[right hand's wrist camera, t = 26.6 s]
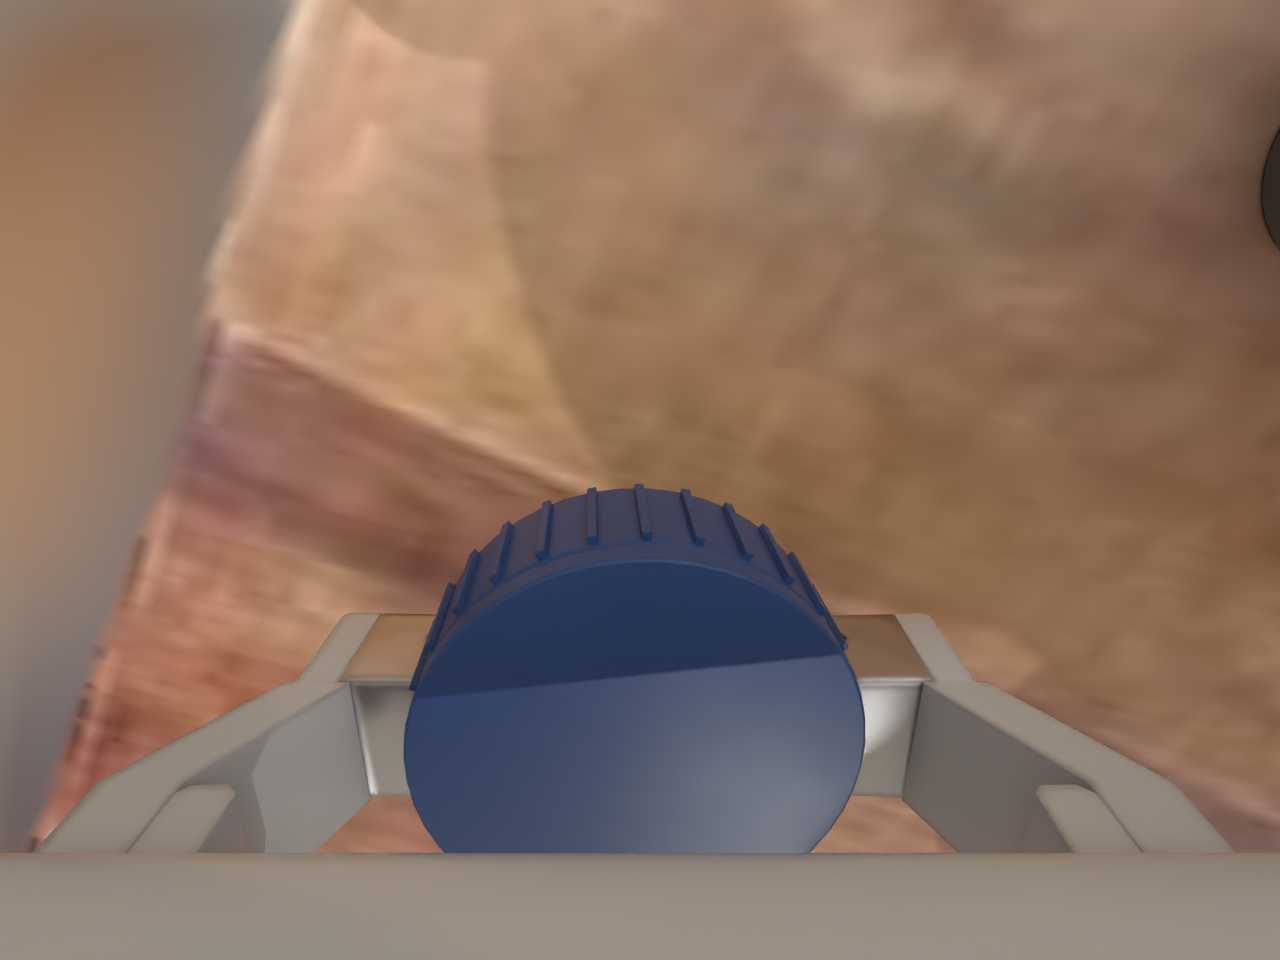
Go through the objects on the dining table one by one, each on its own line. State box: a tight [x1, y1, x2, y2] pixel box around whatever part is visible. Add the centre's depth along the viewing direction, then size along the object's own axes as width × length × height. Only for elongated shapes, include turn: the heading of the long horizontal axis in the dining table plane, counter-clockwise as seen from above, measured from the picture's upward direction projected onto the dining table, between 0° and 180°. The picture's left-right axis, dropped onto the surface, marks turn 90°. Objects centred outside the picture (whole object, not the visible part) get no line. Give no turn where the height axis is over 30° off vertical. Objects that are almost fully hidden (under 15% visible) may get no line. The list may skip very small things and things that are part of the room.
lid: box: [403, 484, 865, 853], centre depth 9 cm, size 5×5×2 cm
